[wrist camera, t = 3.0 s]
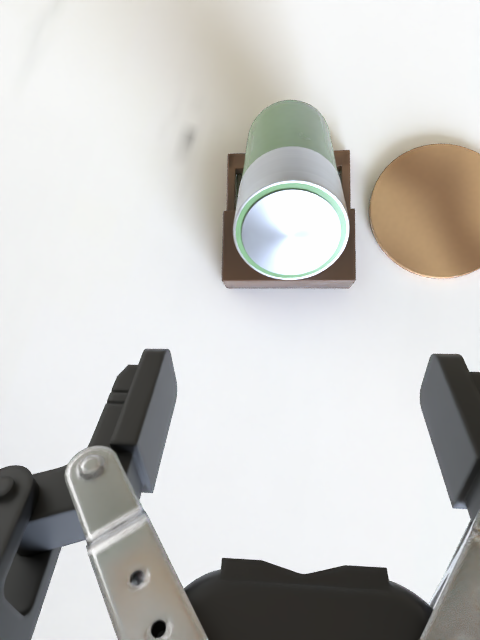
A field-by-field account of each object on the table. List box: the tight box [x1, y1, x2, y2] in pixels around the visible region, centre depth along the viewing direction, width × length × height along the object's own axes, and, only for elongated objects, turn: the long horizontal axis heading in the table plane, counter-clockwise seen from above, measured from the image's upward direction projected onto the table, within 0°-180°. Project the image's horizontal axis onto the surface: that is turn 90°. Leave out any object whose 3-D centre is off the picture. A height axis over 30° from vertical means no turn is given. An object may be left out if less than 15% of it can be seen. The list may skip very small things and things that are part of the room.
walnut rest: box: [222, 150, 356, 288], centre depth 31 cm, size 10×9×3 cm
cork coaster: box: [369, 144, 480, 279], centre depth 31 cm, size 10×10×1 cm
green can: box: [233, 100, 350, 280], centre depth 26 cm, size 13×6×13 cm, turn 179°
